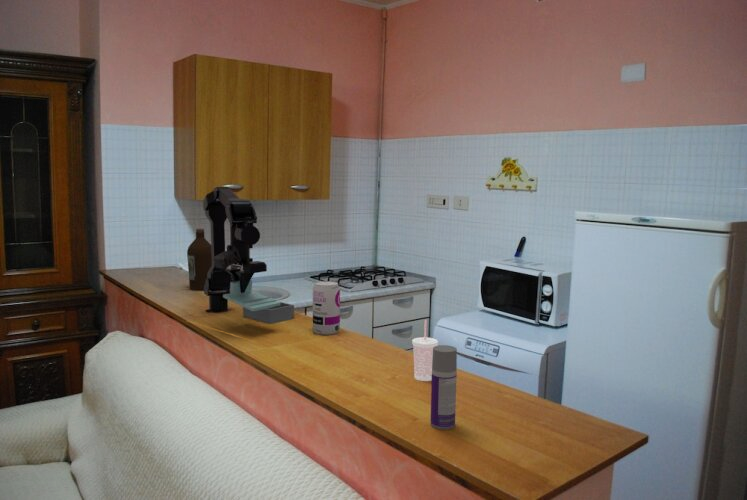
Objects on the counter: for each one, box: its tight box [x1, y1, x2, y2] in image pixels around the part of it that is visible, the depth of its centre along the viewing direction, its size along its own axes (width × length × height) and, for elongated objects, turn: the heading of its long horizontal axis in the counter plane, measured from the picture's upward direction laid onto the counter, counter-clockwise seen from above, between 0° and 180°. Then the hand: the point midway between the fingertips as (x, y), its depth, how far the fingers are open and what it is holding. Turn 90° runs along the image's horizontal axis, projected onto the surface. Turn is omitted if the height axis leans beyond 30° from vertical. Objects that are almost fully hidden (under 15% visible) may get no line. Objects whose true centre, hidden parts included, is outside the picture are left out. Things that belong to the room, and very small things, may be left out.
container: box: [430, 344, 458, 431], centre depth 110 cm, size 5×5×15 cm
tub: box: [242, 301, 295, 325], centre depth 191 cm, size 14×10×5 cm
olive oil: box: [186, 228, 212, 292], centre depth 239 cm, size 11×11×25 cm
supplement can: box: [312, 280, 341, 336], centre depth 175 cm, size 8×8×15 cm
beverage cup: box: [411, 319, 439, 382], centre depth 136 cm, size 6×6×14 cm
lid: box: [223, 279, 281, 311], centre depth 174 cm, size 14×10×6 cm
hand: (240, 292), depth 177 cm, fingers closed on lid
